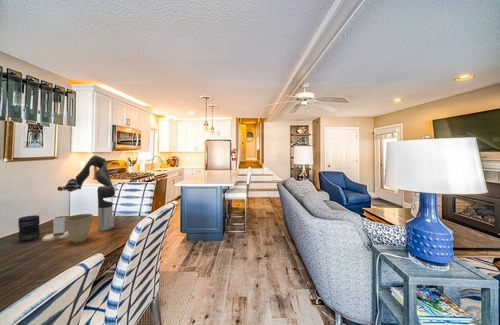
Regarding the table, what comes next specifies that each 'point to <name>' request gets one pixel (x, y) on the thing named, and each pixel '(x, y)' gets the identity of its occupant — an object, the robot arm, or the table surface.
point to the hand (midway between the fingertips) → (68, 189)
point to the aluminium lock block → (59, 226)
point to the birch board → (51, 237)
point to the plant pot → (79, 226)
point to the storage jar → (28, 228)
